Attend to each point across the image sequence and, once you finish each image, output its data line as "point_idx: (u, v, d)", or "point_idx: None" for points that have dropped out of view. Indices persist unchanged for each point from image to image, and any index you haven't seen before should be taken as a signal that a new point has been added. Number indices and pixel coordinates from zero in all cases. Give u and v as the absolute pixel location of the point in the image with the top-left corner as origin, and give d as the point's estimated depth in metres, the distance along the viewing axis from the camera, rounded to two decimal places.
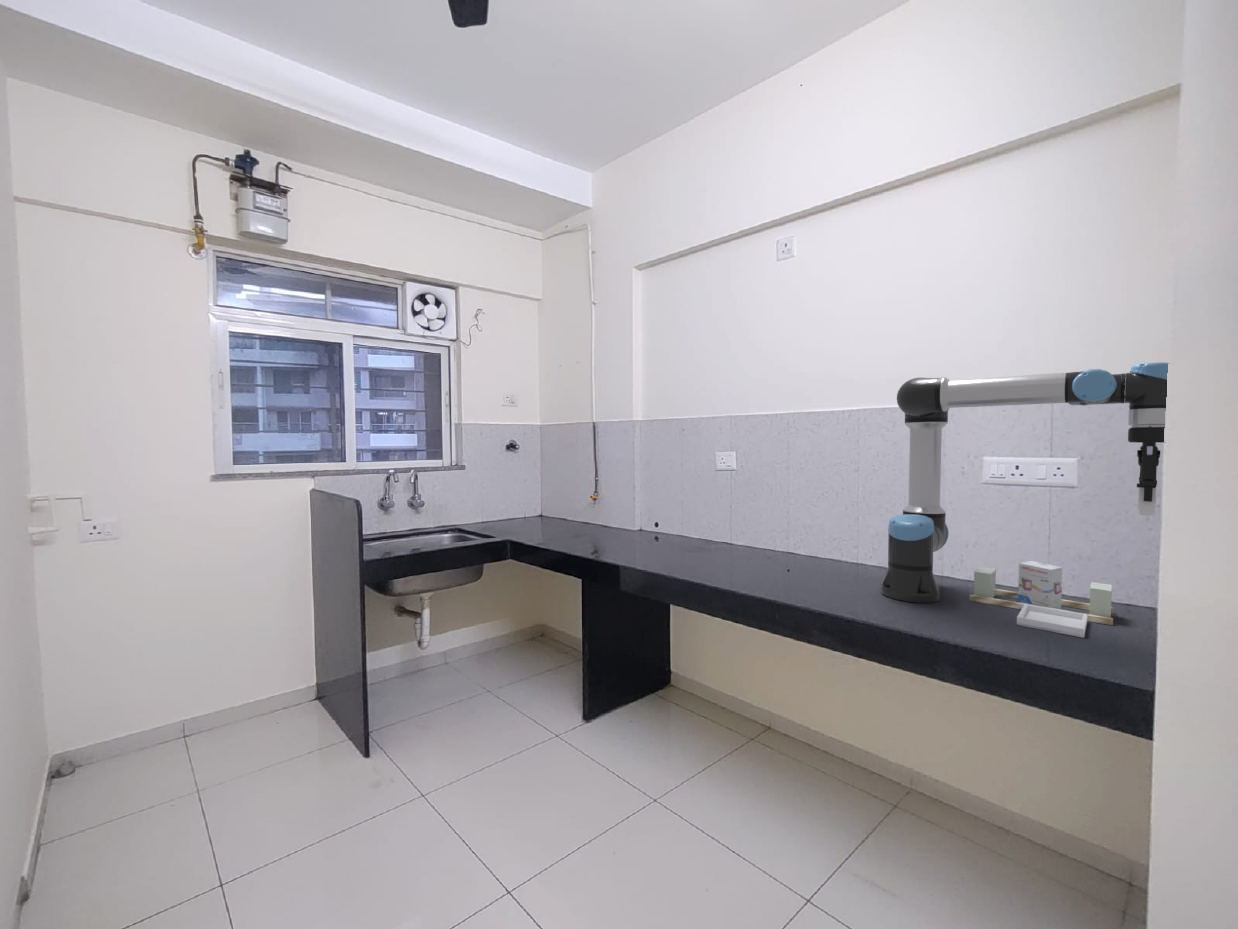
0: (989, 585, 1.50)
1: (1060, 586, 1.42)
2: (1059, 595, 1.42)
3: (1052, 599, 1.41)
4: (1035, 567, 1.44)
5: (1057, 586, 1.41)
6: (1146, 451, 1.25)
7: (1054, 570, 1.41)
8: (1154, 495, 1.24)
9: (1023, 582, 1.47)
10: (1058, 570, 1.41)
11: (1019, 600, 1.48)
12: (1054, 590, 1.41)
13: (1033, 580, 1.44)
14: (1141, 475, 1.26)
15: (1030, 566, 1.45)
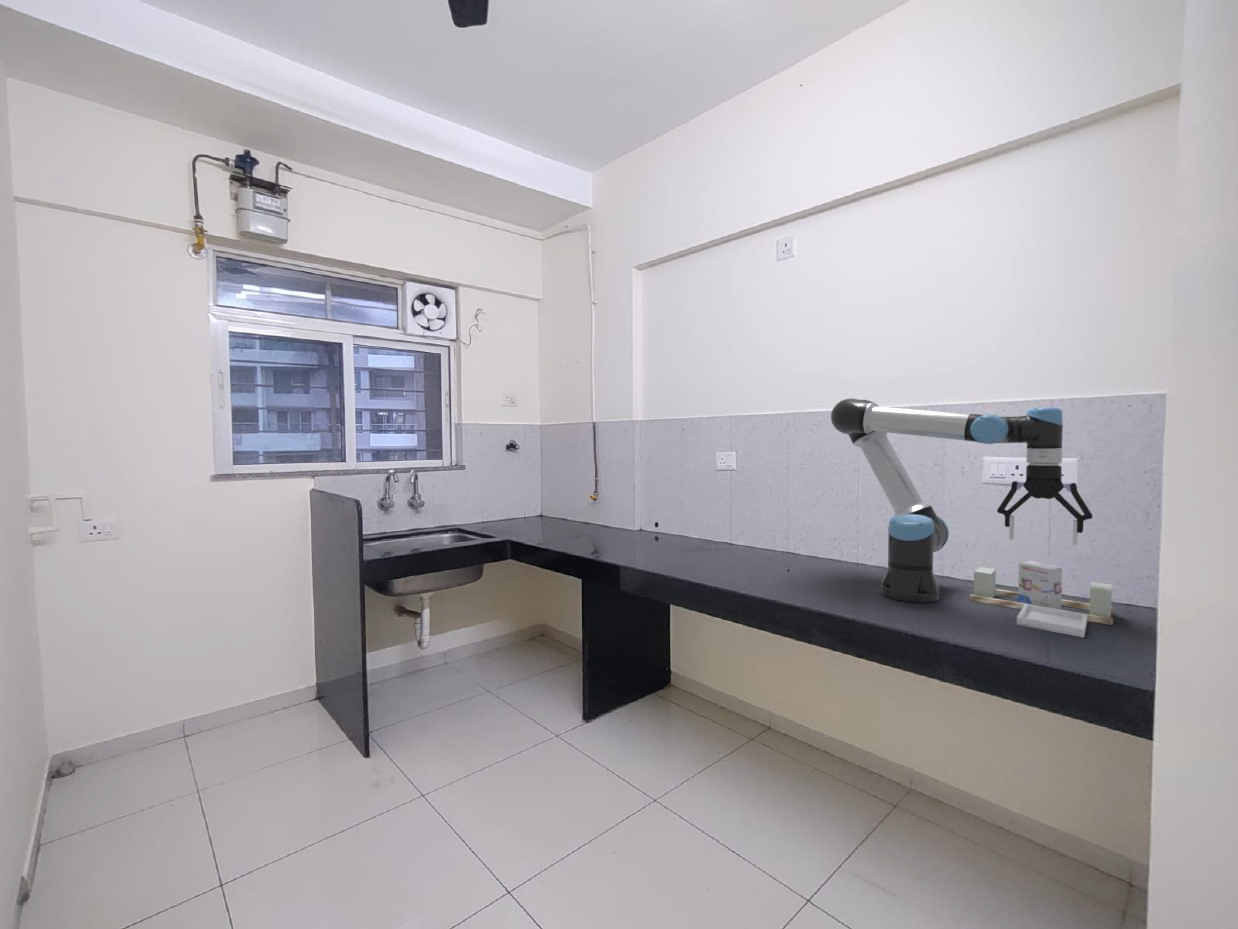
0: (989, 585, 1.50)
1: (1060, 586, 1.42)
2: (1059, 595, 1.42)
3: (1052, 599, 1.41)
4: (1035, 567, 1.44)
5: (1057, 586, 1.41)
6: None
7: (1054, 570, 1.41)
8: (1009, 522, 1.48)
9: (1023, 582, 1.47)
10: (1058, 570, 1.41)
11: (1019, 600, 1.48)
12: (1054, 590, 1.41)
13: (1033, 580, 1.44)
14: None
15: (1030, 566, 1.45)
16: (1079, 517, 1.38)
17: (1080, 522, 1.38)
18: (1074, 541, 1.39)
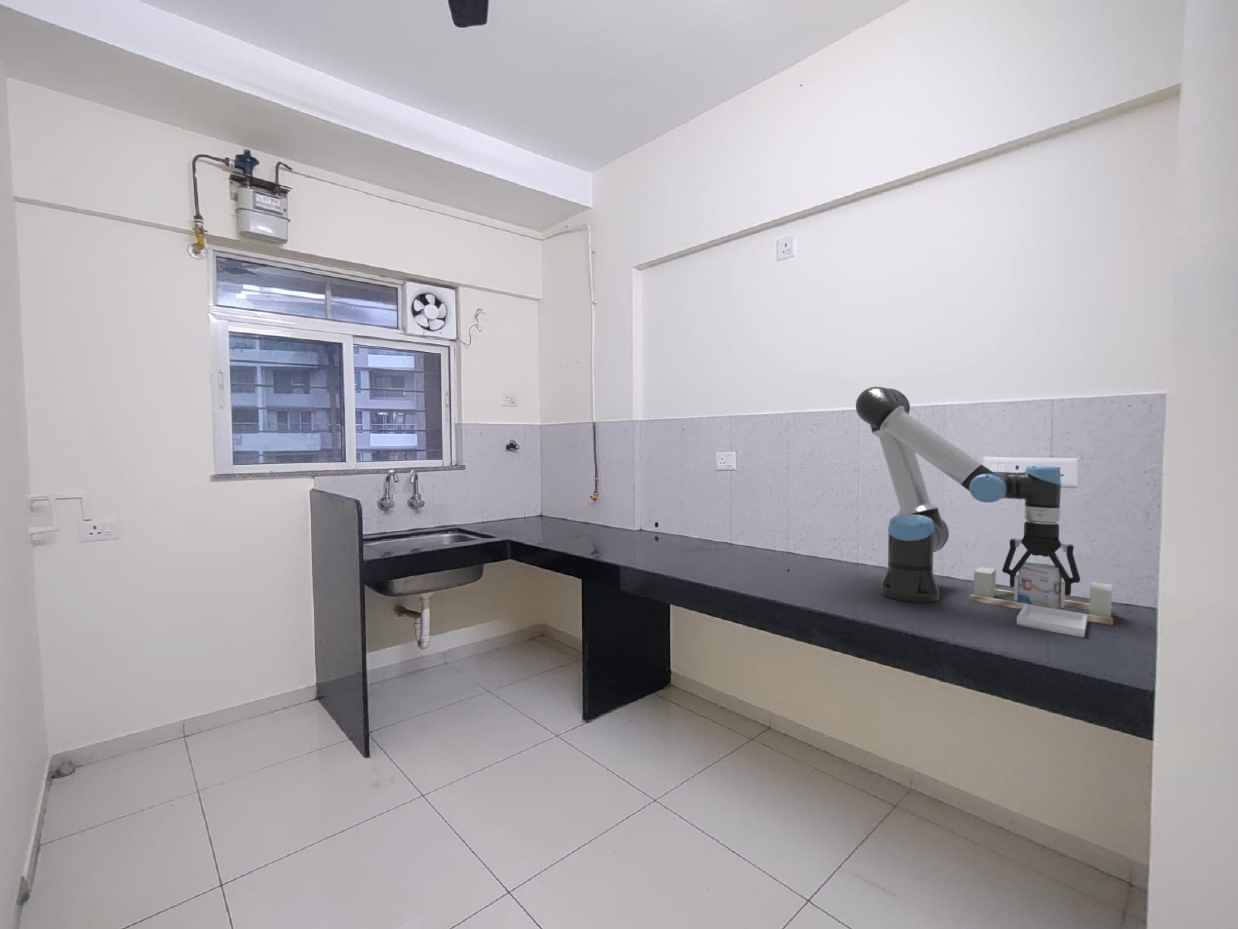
0: (989, 585, 1.50)
1: (1059, 586, 1.42)
2: (1059, 595, 1.42)
3: (1052, 599, 1.41)
4: (1035, 567, 1.44)
5: (1056, 586, 1.41)
6: None
7: (1054, 570, 1.41)
8: (1014, 582, 1.48)
9: (1023, 582, 1.47)
10: (1058, 570, 1.41)
11: (1019, 600, 1.48)
12: (1054, 590, 1.41)
13: (1032, 580, 1.44)
14: None
15: (1030, 566, 1.45)
16: (1067, 580, 1.40)
17: (1068, 585, 1.40)
18: (1062, 603, 1.41)
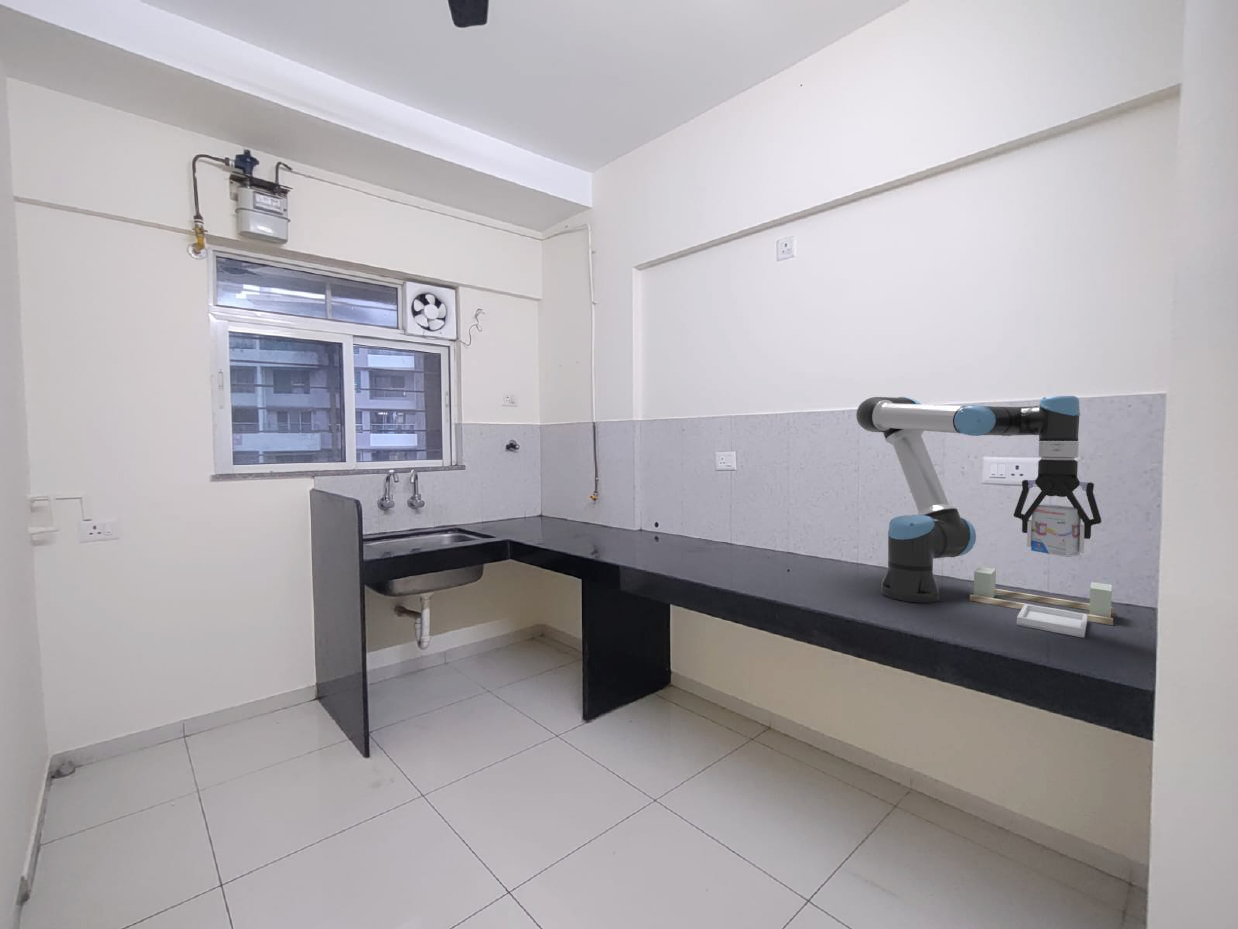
0: (989, 585, 1.50)
1: (1078, 529, 1.27)
2: (1077, 539, 1.27)
3: (1070, 543, 1.26)
4: (1050, 509, 1.29)
5: (1075, 528, 1.27)
6: None
7: (1072, 510, 1.26)
8: None
9: (1037, 526, 1.32)
10: (1076, 511, 1.27)
11: (1032, 547, 1.34)
12: (1072, 533, 1.27)
13: (1048, 523, 1.30)
14: None
15: (1045, 508, 1.31)
16: (1087, 521, 1.26)
17: (1088, 527, 1.26)
18: (1081, 548, 1.27)
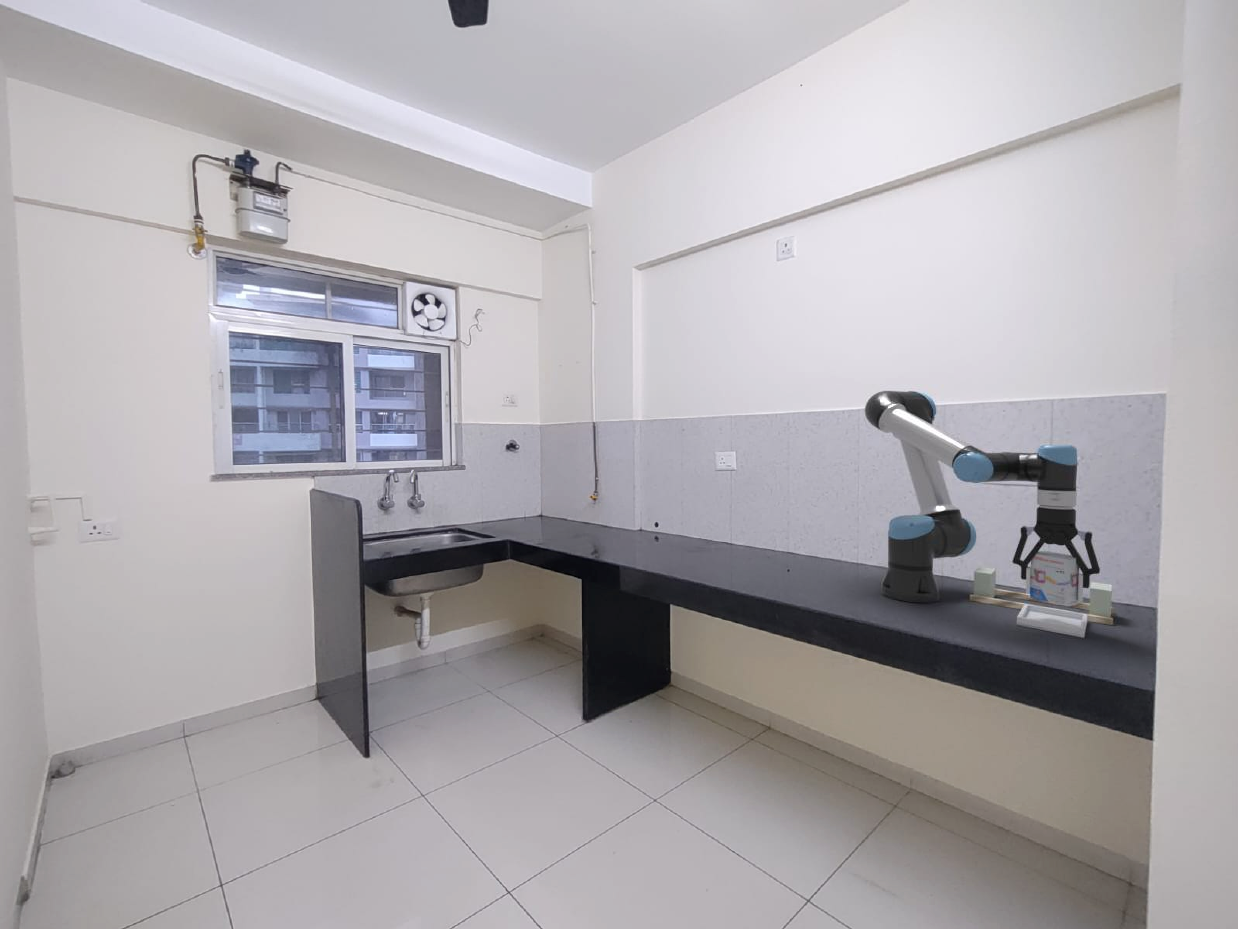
0: (989, 585, 1.50)
1: (1077, 578, 1.28)
2: (1076, 588, 1.28)
3: (1068, 592, 1.27)
4: (1049, 557, 1.30)
5: (1073, 577, 1.27)
6: None
7: (1071, 560, 1.27)
8: (1026, 574, 1.34)
9: (1036, 573, 1.33)
10: (1075, 560, 1.27)
11: (1031, 594, 1.34)
12: (1071, 582, 1.27)
13: (1046, 571, 1.30)
14: None
15: (1043, 556, 1.31)
16: (1085, 571, 1.26)
17: (1086, 576, 1.26)
18: (1079, 597, 1.27)
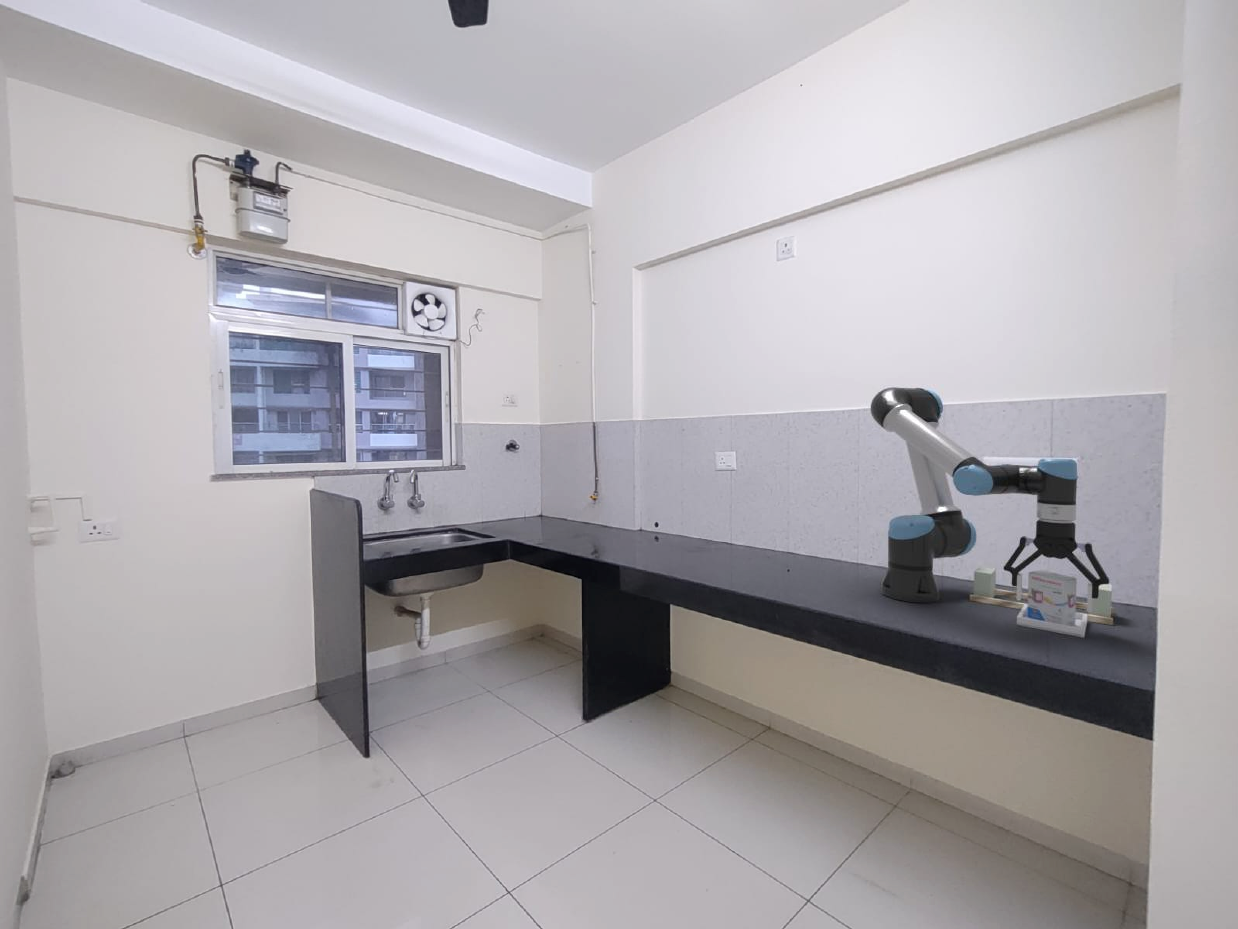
0: (989, 585, 1.50)
1: (1074, 599, 1.28)
2: (1073, 608, 1.28)
3: (1066, 613, 1.27)
4: (1047, 577, 1.30)
5: (1071, 598, 1.28)
6: None
7: (1068, 581, 1.27)
8: (1017, 581, 1.36)
9: (1034, 593, 1.33)
10: (1072, 581, 1.28)
11: (1029, 613, 1.35)
12: (1068, 603, 1.27)
13: (1044, 592, 1.31)
14: None
15: (1041, 576, 1.32)
16: (1094, 581, 1.25)
17: (1095, 587, 1.25)
18: (1088, 607, 1.26)
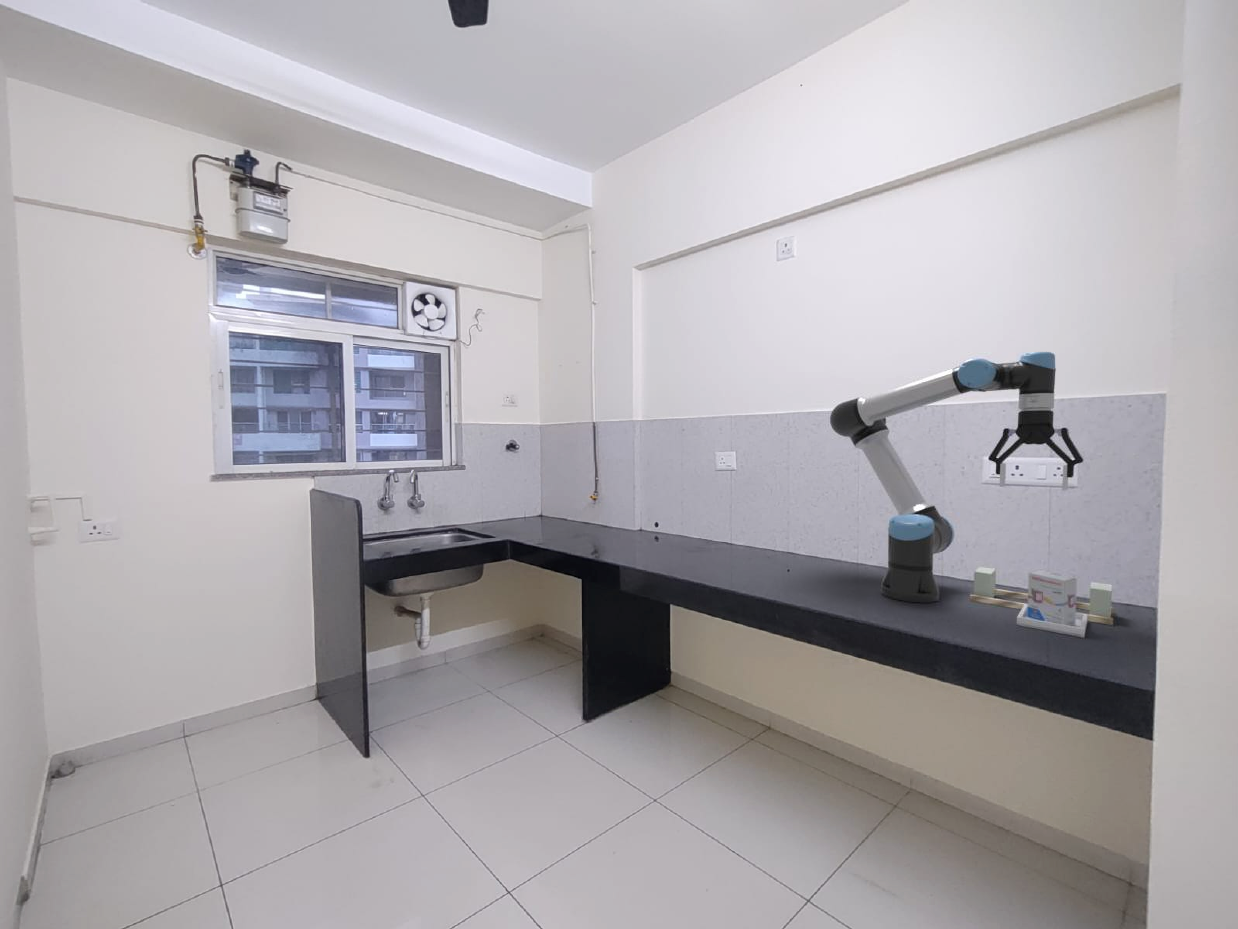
0: (989, 585, 1.50)
1: (1074, 599, 1.28)
2: (1073, 608, 1.28)
3: (1066, 613, 1.27)
4: (1047, 577, 1.30)
5: (1071, 598, 1.28)
6: None
7: (1068, 581, 1.27)
8: (1000, 469, 1.48)
9: (1034, 593, 1.33)
10: (1072, 581, 1.28)
11: (1029, 613, 1.35)
12: (1068, 603, 1.27)
13: (1044, 592, 1.31)
14: None
15: (1041, 576, 1.32)
16: (1069, 461, 1.37)
17: (1070, 467, 1.37)
18: (1064, 486, 1.38)
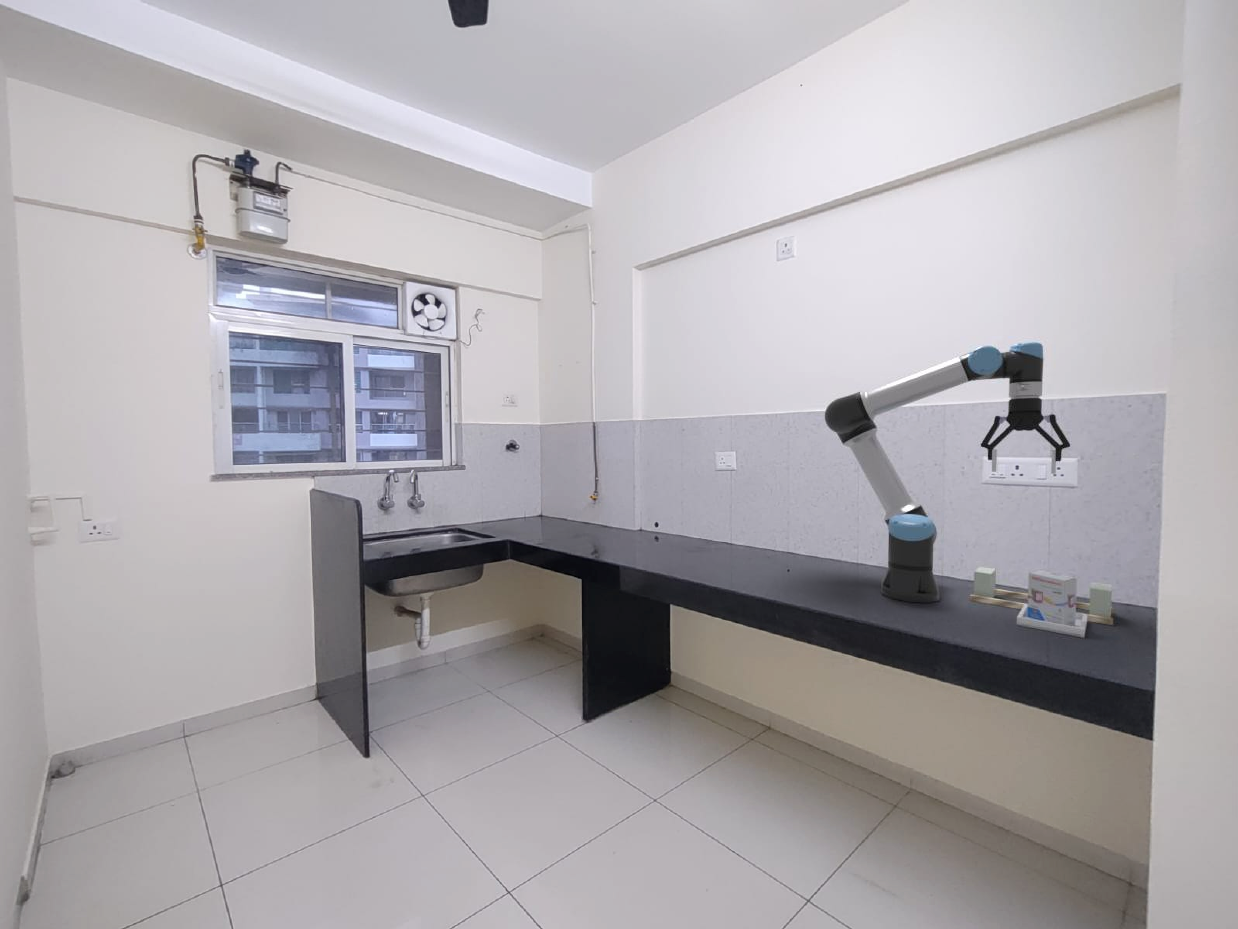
0: (989, 585, 1.50)
1: (1074, 599, 1.28)
2: (1073, 608, 1.28)
3: (1066, 613, 1.27)
4: (1047, 577, 1.30)
5: (1071, 598, 1.28)
6: None
7: (1068, 581, 1.27)
8: (992, 455, 1.55)
9: (1034, 593, 1.33)
10: (1072, 581, 1.28)
11: (1029, 613, 1.35)
12: (1068, 603, 1.27)
13: (1044, 592, 1.31)
14: None
15: (1041, 576, 1.32)
16: (1057, 446, 1.44)
17: (1058, 451, 1.45)
18: (1052, 469, 1.45)
